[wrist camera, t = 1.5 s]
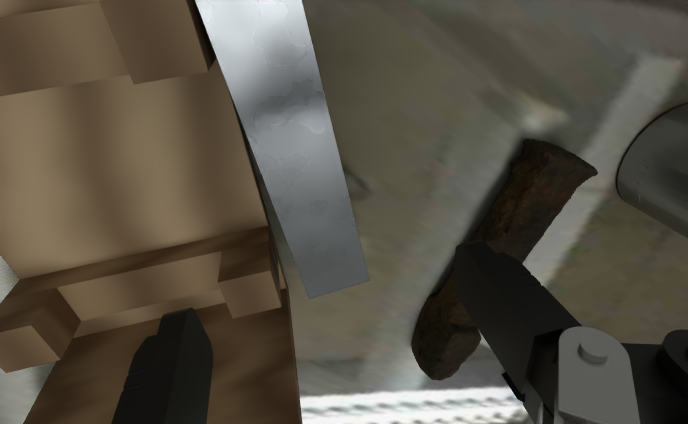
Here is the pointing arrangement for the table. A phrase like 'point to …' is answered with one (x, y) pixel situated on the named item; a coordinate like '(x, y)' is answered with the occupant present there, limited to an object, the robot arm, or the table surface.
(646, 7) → the table surface
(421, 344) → the dark brown bar
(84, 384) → the post cradle
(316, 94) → the rail
